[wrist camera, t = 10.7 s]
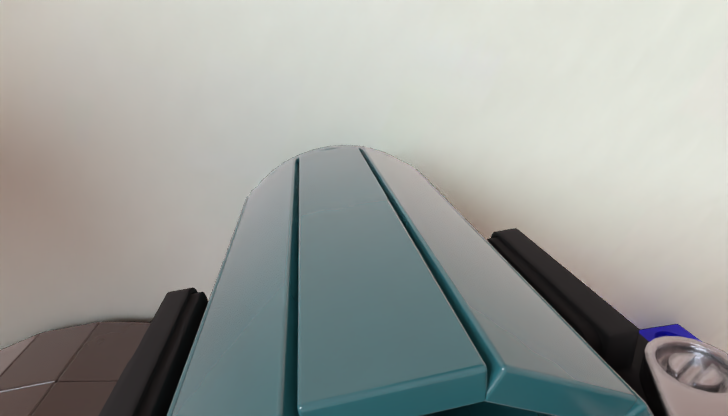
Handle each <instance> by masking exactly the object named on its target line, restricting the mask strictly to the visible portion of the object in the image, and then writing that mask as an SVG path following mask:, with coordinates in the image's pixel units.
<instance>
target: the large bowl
mask: <svg viewBox="0 0 728 416" xmlns="http://www.w3.org/2000/svg"><path fill="white" fill-rule="evenodd" d="M149 325H150V323H149V322H96V323H90V324H85V325H79V326H74V327H68V328H63V329H57V330H52V331H46V332H42V333H39V334H37V335H34V336H32V337H30V338H27V339H25V340H23V341H20V342H18V343H16V344H13V345H11V346H9V347H6V348H4V349H2V350H0V416H98V415H99V414H100V412H101V410H102V408H103V406H104V404H105V403H106V401H107V399H108V397H109V395H110V394H111V392H112V390H113V388H114V386H115V385H116V383H117V381H118V379H119V377H120V375H121V374H122V372H123V370H124V368H125V366H126V365H127V363H128V361H129V360H130V359H131V357H132V356H133V355H134V353H135V351H136V349H137V347H138V345H139V344H140V342H141V340H142V338H143V336H144V334H145V333H146V331H147V329H148V327H149Z"/></svg>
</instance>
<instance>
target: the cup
mask: <svg viewBox="0 0 728 416" xmlns="http://www.w3.org/2000/svg"><path fill="white" fill-rule="evenodd" d="M166 416H654V415H653V413H652V411H651V410H650V408H649V406H648V405H647V403H646V402H645V401H644V400H643V399H642V398H641V397H640V396H639V395H638V394H637V393H636V392H635V391H634V390H633V389H632V388H631V387H630V386H629V385H628V384H627V383H626V382H625V381H624V380H623V379H622V378H621V377H620V376H619V375H618V374H617V373H616V371H615V370H614V369H613V368H612V367H611V366H610V365H609V364H608V363H607V362H606V361H605V360H604V359H603V358H602V357H601V356H600V355H599V354H598V353H597V352H596V351H595V350H594V349H593V348H592V347H591V346H590V345H589V344H588V343H587V342H586V341H585V340H584V339H583V338H582V337H581V336H580V335H579V334H578V333H577V332H576V331H575V330H574V329H573V328H572V327H571V326H570V325H569V324H568V323H567V322H566V321H565V320H564V319H563V317H562V316H561V315H560V314H559V313H558V312H557V311H556V310H555V309H554V308H553V307H552V306H551V305H550V304H549V303H548V302H547V301H546V300H545V299H544V298H543V297H542V296H541V295H540V294H539V293H538V292H537V291H536V290H535V289H534V288H533V287H532V286H531V285H530V284H529V283H528V282H527V281H526V280H525V279H524V278H523V277H522V276H521V275H520V274H519V273H518V272H517V271H516V270H515V269H514V268H513V267H512V266H511V265H510V263H509V262H508V261H507V260H506V259H505V258H504V257H503V256H502V255H501V254H500V253H499V252H498V251H497V250H496V249H495V248H494V247H493V246H492V245H491V244H490V243H489V242H488V241H487V240H486V239H485V238H484V237H483V236H482V235H481V234H480V233H479V232H478V231H477V230H476V229H475V228H474V227H473V226H472V225H471V224H470V223H469V222H468V221H467V220H466V219H465V218H464V217H463V216H462V215H461V214H460V213H459V212H458V211H457V210H456V208H455V207H454V206H453V205H452V204H451V203H450V202H449V201H448V200H447V199H446V198H445V197H444V196H443V195H442V194H441V193H440V192H439V191H438V190H437V189H436V188H435V187H434V186H433V185H432V184H431V183H430V182H429V181H428V180H427V179H426V178H425V177H424V176H423V175H422V174H421V173H420V172H419V171H418V170H417V169H415V168H414V167H413V166H412V165H410V164H408V163H405V162H403V161H401V160H399V159H398V158H396V157H394V156H392V155H389V154H387V153H385V152H382V151H379V150H376V149H373V148H368V147H364V146H353V145H338V146H327V147H323V148H318V149H313V150H310V151H308V152H305V153H302V154H299V155H297V156H295V157H293V158H291V159H289V160H287V161H285V162H284V163H282V164H281V165H280V166H278V167H277V168H275V169H274V170H273V171H271V172H270V173H269V174H268V175H267V176H266V177H265V178H264V179H263V180H262V181H261V182H260V183H259V184H258V186H257V187H255V188H254V189H253V190H252V191H251V192H250V195H249V196H248V197H246V200H245V203H244V205H243V208H242V211H241V214H240V216H239V219H238V222H237V225H236V227H235V230H234V233H233V235H232V238H231V241H230V244H229V246H228V249H227V252H226V255H225V257H224V260H223V263H222V265H221V268H220V271H219V274H218V276H217V279H216V282H215V285H214V287H213V290H212V293H211V295H210V298H209V301H208V304H207V306H206V309H205V312H204V315H203V317H202V320H201V323H200V325H199V328H198V331H197V334H196V336H195V339H194V342H193V345H192V347H191V350H190V353H189V355H188V358H187V361H186V364H185V366H184V369H183V372H182V375H181V377H180V380H179V383H178V385H177V388H176V391H175V394H174V396H173V399H172V402H171V405H170V407H169V410H168V413H167V415H166Z"/></svg>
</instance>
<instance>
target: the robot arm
mask: <svg viewBox="0 0 728 416" xmlns="http://www.w3.org/2000/svg"><path fill="white" fill-rule="evenodd" d="M487 241H488V242H489V243H490V244H491V245H492V246H493V247H494V248H495V249H496V250H497V251H498V252H499V253H500V254H501V255H502V256H503V257H504V258H505V259H506V260H507V261H508V262H509V263H510V265H511V266H512V267H513V268H514V269H515V270H516V271H517V272H518V273H519V274H520V275H521V276H522V277H523V278H524V279H525V280H526V281H527V282H528V283H529V284H530V285H531V286H532V287H533V288H534V289H535V290H536V291H537V292H538V293H539V294H540V295H541V296H542V297H543V298H544V299H545V300H546V301H547V302H548V303H549V304H550V305H551V306H552V307H553V308H554V309H555V310H556V311H557V312H558V313H559V314H560V315H561V316H562V317H563V319H564V320H565V321H566V322H567V323H568V324H569V325H570V326H571V327H572V328H573V329H574V330H575V331H576V332H577V333H578V334H579V335H580V336H581V337H582V338H583V339H584V340H585V341H586V342H587V343H588V344H589V345H590V346H591V347H592V348H593V349H594V350H595V351H596V352H597V353H598V354H599V355H600V356H601V357H602V358H603V359H604V360H605V361H606V362H607V363H608V364H609V365H610V366H611V367H612V368H613V369H614V370H615V371H616V373H617V374H618V375H619V376H620V377H621V378H622V379H623V380H624V381H625V382H626V383H627V384H628V385H629V386H630V387H631V388H632V389H633V390H634V391H635V392H636V393H637V394H638V395H639V396H640V397H641V398H642V399H643V400H644V401H645V402H646V403H647V405H648V406H649V408H650V410H651V411H652V413H653V415H654V416H728V354H727V353H726V352H724V351H722V350H720V349H718V348H716V347H714V346H712V345H710V344H707V343H704V342H701V341H698V340H695V339H691V338H685V337H680V336H664V337H659V338H655V339H653V340H652V341H650V342H649V341H648V340H647V339H646V338H644V337H643V336H642V335H641V334H640V333H639V330H640V329H638V328H637V327H636V326H635V325H634V324H632V323H631V322H630V321H629V320H627V319H626V318H625V317H624V316H623V315H621V314H620V313H619V312H618V311H616V310H615V309H614V308H613V307H612V306H610V305H609V304H608V303H607V302H606V301H604V300H603V299H602V298H601V297H599V296H598V295H597V294H596V293H595V292H593V291H592V290H591V289H590V288H589V287H587V286H586V285H585V284H584V283H582V282H581V281H580V280H579V279H578V278H576V277H575V276H574V275H573V274H571V273H570V272H569V271H568V270H567V269H565V268H564V267H563V266H562V265H561V264H559V263H558V262H557V261H556V260H554V259H553V258H552V257H551V256H550V255H548V254H547V253H546V252H545V251H543V250H542V249H541V248H540V247H539V246H537V245H536V244H535V243H534V242H533V241H531V240H530V239H529V238H528V237H526V236H525V235H524V234H523V233H522V232H520V231H519V230H518V229H516V228H515V229H508V230H503V231H497V232H494V233H493V234H492V236H491V238H490V239H487ZM207 304H208V300H207V297H206V295H205V293H204V292H199V293H198V292H197V290H196V289H195V288H188V289H183V290H178V291H172V292H168V293H167V295H166V296H165V298H164V300H163V302H162V303H161V305H160V307H159V309H158V311H157V313H156V314H155V316H154V318H153V320H152V322H151V323H150V325H149V327H148V329H147V331H146V333H145V334H144V336H143V338H142V340H141V342H140V344H139V345H138V347H137V349H136V351H135V353H134V355H133V356H132V357H131V359H130V360H129V361H128V363H127V365H126V366H125V368H124V370H123V372H122V374H121V375H120V377H119V379H118V381H117V383H116V385H115V386H114V388H113V390H112V392H111V394H110V395H109V397H108V399H107V401H106V403H105V404H104V406H103V408H102V410H101V412H100V414H99V415H98V416H166V415H167V413H168V410H169V407H170V405H171V402H172V399H173V396H174V394H175V391H176V388H177V385H178V383H179V380H180V377H181V375H182V372H183V369H184V366H185V364H186V361H187V358H188V355H189V353H190V350H191V347H192V345H193V342H194V339H195V336H196V334H197V331H198V328H199V325H200V323H201V320H202V317H203V315H204V312H205V309H206V306H207Z"/></svg>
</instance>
